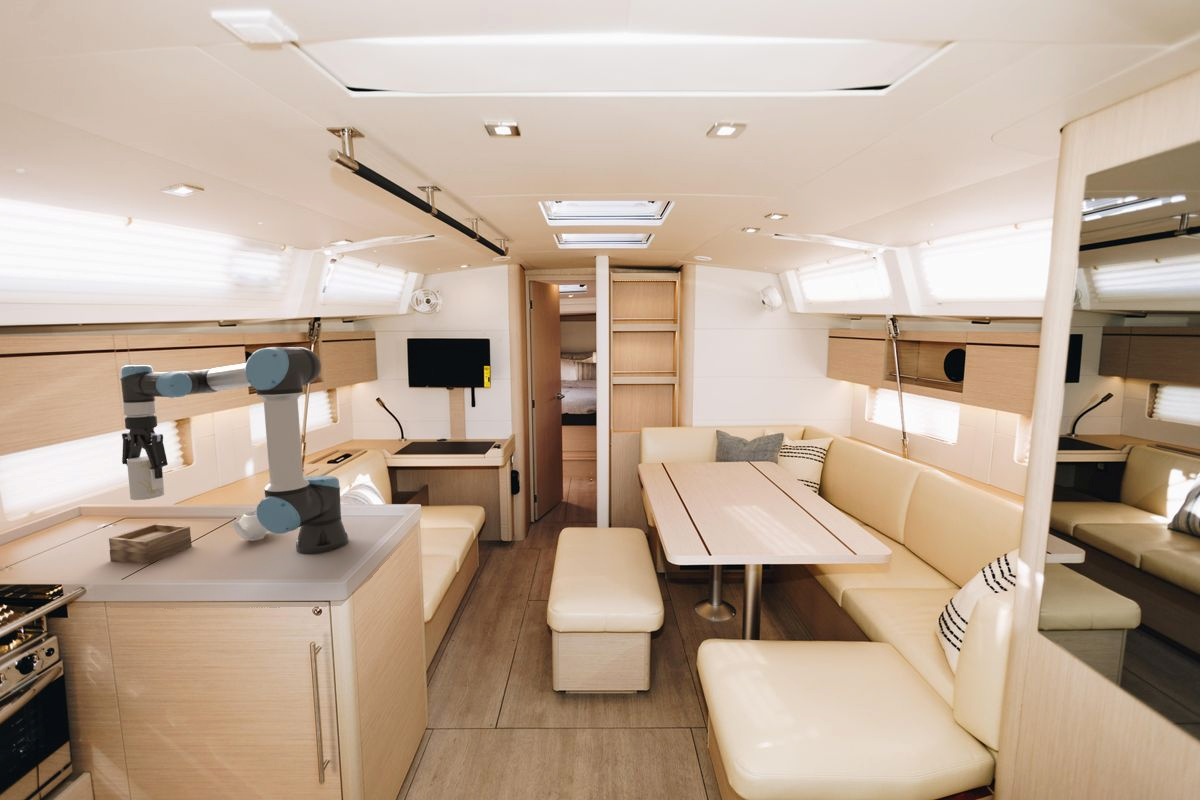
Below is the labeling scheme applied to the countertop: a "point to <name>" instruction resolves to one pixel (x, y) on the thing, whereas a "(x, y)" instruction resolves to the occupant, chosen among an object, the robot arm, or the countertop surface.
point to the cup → (141, 479)
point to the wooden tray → (149, 538)
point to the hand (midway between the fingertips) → (146, 487)
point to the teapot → (250, 527)
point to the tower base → (151, 556)
